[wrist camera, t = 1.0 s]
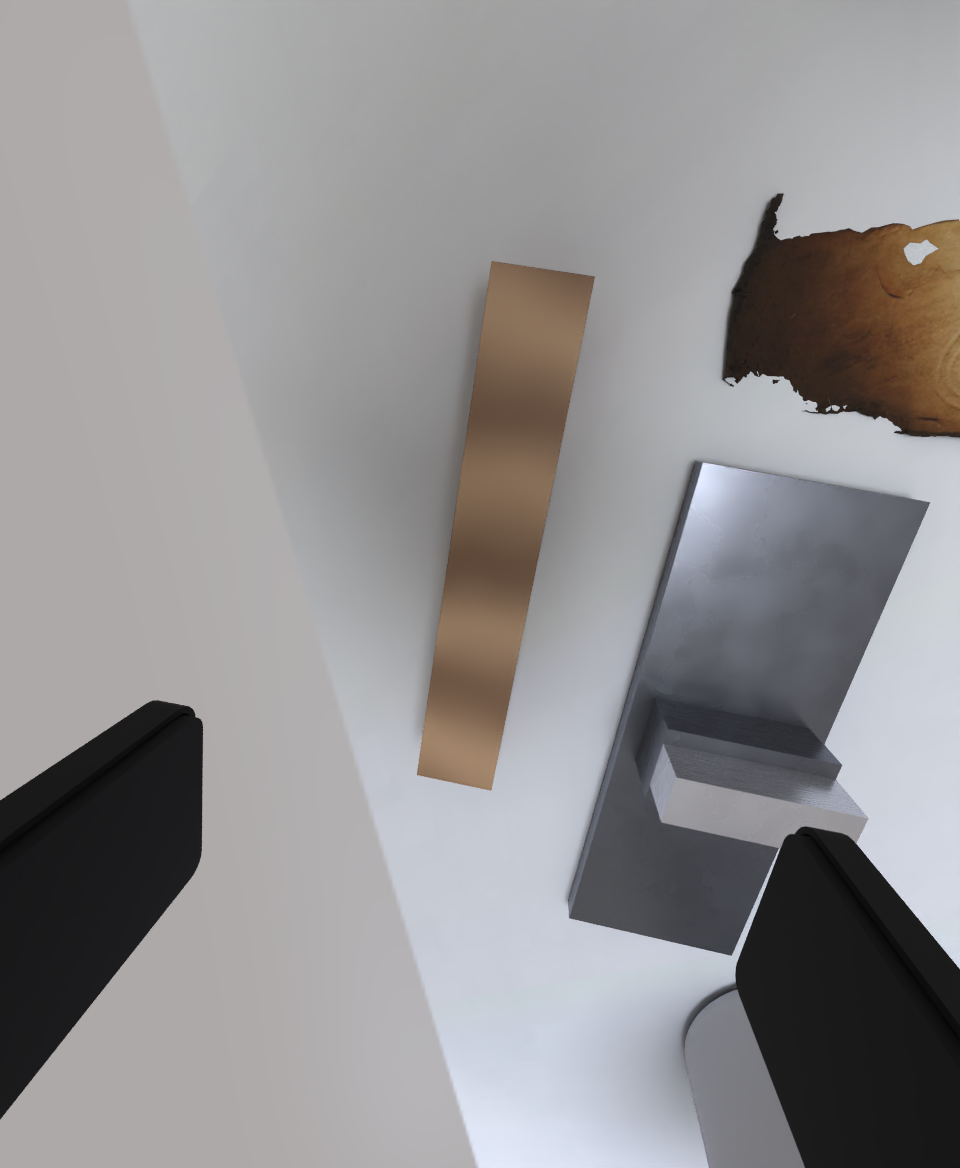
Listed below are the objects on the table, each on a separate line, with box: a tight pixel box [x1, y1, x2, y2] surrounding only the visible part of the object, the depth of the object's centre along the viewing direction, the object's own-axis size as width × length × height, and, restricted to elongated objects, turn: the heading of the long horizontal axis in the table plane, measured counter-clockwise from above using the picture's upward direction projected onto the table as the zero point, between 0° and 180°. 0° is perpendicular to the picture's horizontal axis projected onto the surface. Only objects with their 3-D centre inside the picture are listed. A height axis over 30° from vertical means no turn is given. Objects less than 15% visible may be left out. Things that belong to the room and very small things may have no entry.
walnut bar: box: [417, 261, 595, 790], centre depth 25 cm, size 24×4×4 cm, turn 171°
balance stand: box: [568, 461, 930, 956], centre depth 25 cm, size 28×10×7 cm, turn 170°
